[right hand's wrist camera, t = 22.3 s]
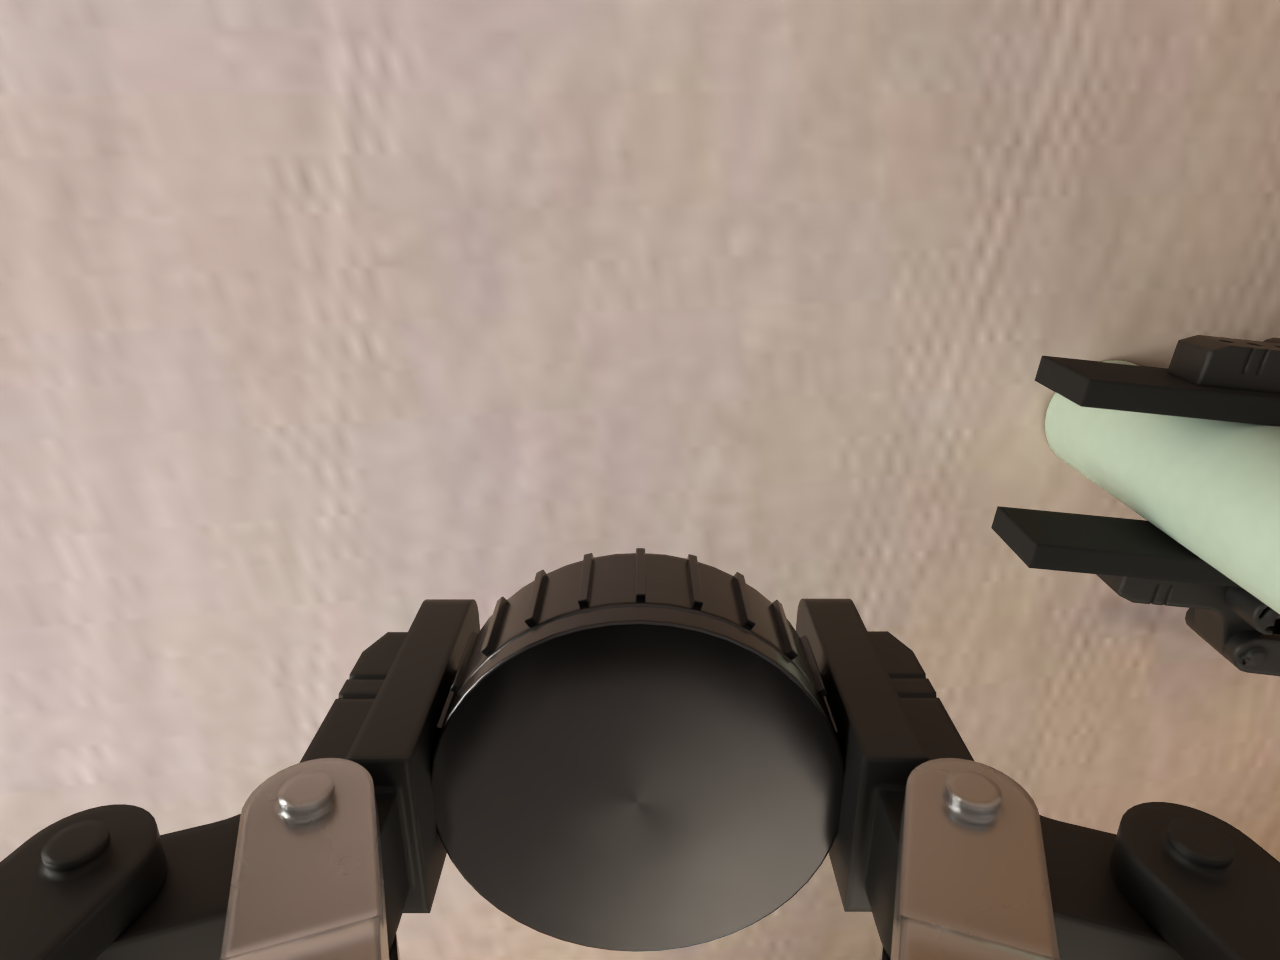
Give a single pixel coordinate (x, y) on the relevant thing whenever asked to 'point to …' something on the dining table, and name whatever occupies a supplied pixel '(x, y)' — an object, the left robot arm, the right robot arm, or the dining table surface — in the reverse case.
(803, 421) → the dining table surface
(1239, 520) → the jar
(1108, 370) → the left robot arm
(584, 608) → the lid
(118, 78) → the dining table surface
